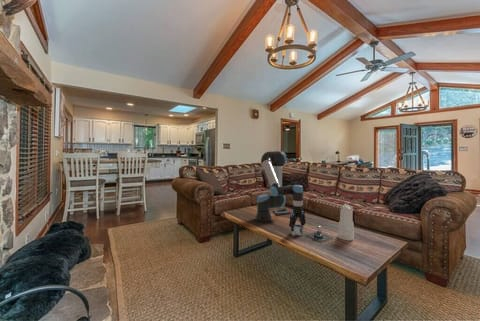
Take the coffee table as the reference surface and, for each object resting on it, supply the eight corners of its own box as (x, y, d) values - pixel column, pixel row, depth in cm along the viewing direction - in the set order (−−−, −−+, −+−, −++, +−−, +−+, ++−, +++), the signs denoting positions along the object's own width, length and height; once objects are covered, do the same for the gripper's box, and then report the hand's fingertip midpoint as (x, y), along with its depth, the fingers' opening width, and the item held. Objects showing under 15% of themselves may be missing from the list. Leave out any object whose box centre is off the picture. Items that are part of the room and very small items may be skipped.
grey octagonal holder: (289, 232, 170) (289, 224, 170) (297, 230, 174) (297, 222, 174) (297, 236, 163) (297, 228, 163) (304, 233, 167) (304, 226, 167)
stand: (291, 234, 169) (292, 224, 169) (297, 233, 172) (297, 223, 172) (297, 237, 164) (297, 227, 164) (303, 235, 167) (303, 225, 167)
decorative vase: (353, 241, 156) (354, 207, 155) (337, 238, 162) (337, 205, 160) (354, 236, 165) (355, 204, 164) (339, 233, 171) (339, 202, 169)
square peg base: (305, 236, 165) (305, 225, 165) (317, 232, 172) (317, 221, 172) (320, 243, 153) (320, 231, 153) (333, 239, 160) (333, 227, 160)
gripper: (291, 208, 158) (290, 238, 160) (310, 204, 169) (310, 232, 171) (284, 206, 165) (283, 235, 166) (303, 202, 175) (303, 229, 177)
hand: (297, 234), depth 168 cm, fingers closed on grey octagonal holder, 8 cm apart
